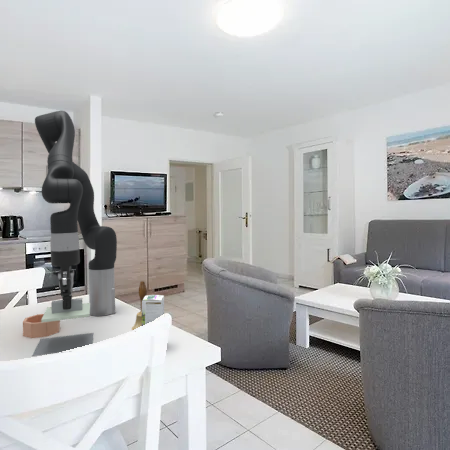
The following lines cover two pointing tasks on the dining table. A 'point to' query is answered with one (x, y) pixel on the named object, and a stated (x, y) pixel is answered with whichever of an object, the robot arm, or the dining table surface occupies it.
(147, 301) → the syrup box
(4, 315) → the dining table surface
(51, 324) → the bowl
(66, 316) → the cover sheet
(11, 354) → the dining table surface
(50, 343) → the mat
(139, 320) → the hand bell
